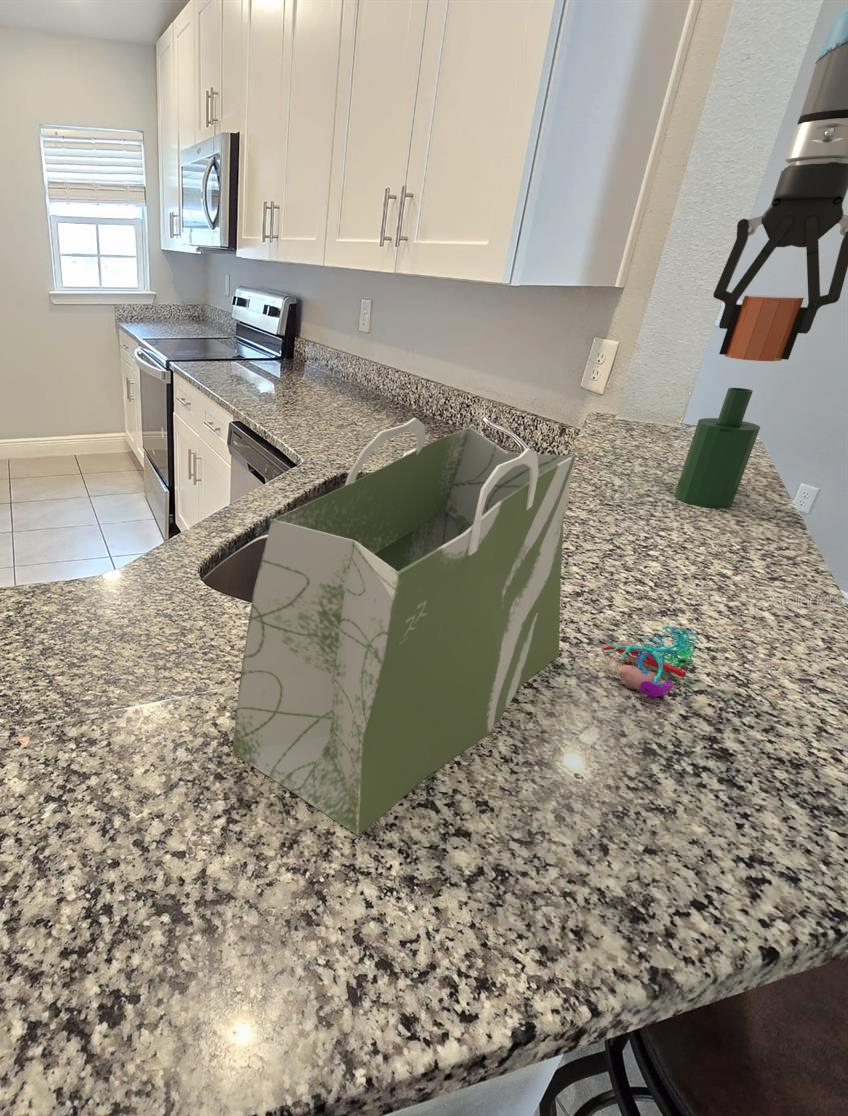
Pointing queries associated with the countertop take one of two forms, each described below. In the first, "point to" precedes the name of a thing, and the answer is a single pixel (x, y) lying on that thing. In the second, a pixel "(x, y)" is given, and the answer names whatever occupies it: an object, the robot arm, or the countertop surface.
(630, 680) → the anatomy model
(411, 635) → the grocery bag
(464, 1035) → the countertop surface
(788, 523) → the countertop surface
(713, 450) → the bottle
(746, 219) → the robot arm
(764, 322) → the orange octagonal cylinder
